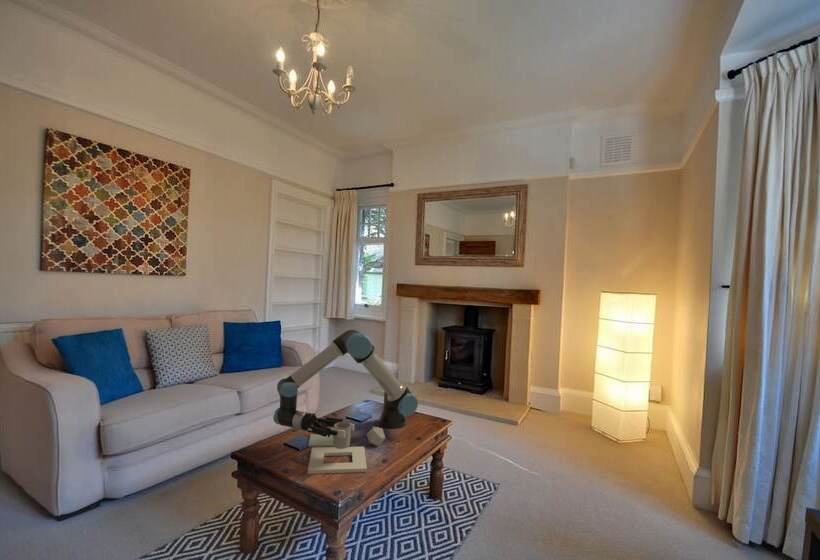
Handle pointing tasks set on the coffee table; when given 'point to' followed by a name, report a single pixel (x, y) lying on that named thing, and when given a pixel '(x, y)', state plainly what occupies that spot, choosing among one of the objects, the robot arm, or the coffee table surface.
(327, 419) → the robot arm
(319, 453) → the beige flat frame
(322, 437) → the coaster
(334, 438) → the cup
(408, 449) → the coffee table surface
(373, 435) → the die
